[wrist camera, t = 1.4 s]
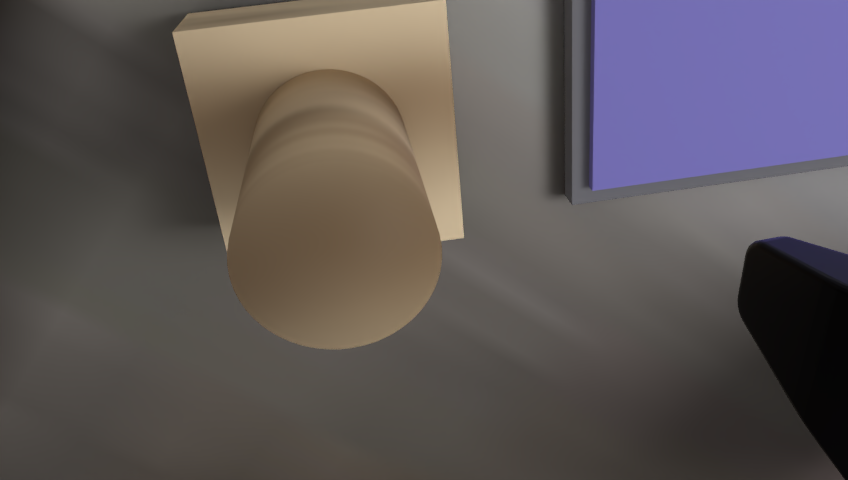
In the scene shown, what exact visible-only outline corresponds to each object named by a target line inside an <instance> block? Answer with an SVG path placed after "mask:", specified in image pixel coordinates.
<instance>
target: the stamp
mask: <svg viewBox="0 0 848 480" xmlns="http://www.w3.org/2000/svg"><path fill="white" fill-rule="evenodd" d="M172 34H173V38H174V42H175V46H176V50H177V54H178V58H179V62H180V66H181V70H182V74H183V78H184V82H185V86H186V90H187V94H188V98H189V102H190V106H191V110H192V114H193V118H194V122H195V126H196V130H197V134H198V138H199V142H200V146H201V150H202V154H203V158H204V162H205V166H206V170H207V174H208V178H209V182H210V186H211V190H212V194H213V198H214V202H215V206H216V210H217V214H218V218H219V222H220V226H221V230H222V234H223V238H224V242H225V246H226V250H227V266H228V272H229V277H230V280H231V283H232V286H233V289H234V291H235V293H236V295H237V297H238V299H239V301H240V302H241V304H242V305H243V306H244V308H245V309H246V311H247V312H248V313H249V314H250V315H251V316H252V317H253V318H254V319H255V320H256V321H257V322H258V323H260V324H261V325H262V326H263V327H264V328H266V329H267V330H269V331H270V332H272V333H274V334H275V335H277V336H279V337H281V338H283V339H285V340H287V341H290V342H293V343H296V344H299V345H303V346H307V347H311V348H319V349H347V348H354V347H359V346H364V345H367V344H370V343H373V342H376V341H379V340H381V339H383V338H385V337H388V336H389V335H391V334H393V333H395V332H396V331H398V330H400V329H401V328H402V327H403V326H405V325H406V324H407V323H409V322H410V321H411V320H412V319H413V318H414V317H415V316H416V315H417V314H418V313H419V312H420V311H421V309H422V308H423V307H424V306H425V304H426V303H427V301H428V300H429V298H430V296H431V295H432V293H433V291H434V288H435V286H436V284H437V281H438V278H439V274H440V270H441V262H442V245H441V241H445V240H452V239H459V238H464V231H463V218H462V205H461V192H460V179H459V166H458V153H457V140H456V127H455V114H454V101H453V88H452V75H451V62H450V49H449V36H448V23H447V10H446V0H298V1H289V2H281V3H273V4H264V5H256V6H247V7H239V8H230V9H222V10H214V11H205V12H197V13H188V14H187V15H186V17H185V18H184V19H183V20H182V21H181V22H180V24H179V25H178V26H177V27H176V28H175V30H174V31H173V32H172Z"/></svg>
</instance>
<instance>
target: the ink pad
mask: <svg viewBox="0 0 848 480" xmlns="http://www.w3.org/2000/svg"><path fill="white" fill-rule="evenodd" d="M564 77H565V196H566V197H567V199H568V200H569V201H570V203H571V204H572V205H575V204H582V203H589V202H596V201H603V200H610V199H617V198H624V197H632V196H639V195H646V194H653V193H660V192H667V191H674V190H681V189H688V188H695V187H702V186H710V185H717V184H724V183H731V182H738V181H745V180H752V179H759V178H766V177H773V176H780V175H788V174H795V173H802V172H809V171H816V170H823V169H830V168H837V167H844V166H848V0H564Z"/></svg>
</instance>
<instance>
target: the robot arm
mask: <svg viewBox="0 0 848 480" xmlns="http://www.w3.org/2000/svg"><path fill="white" fill-rule="evenodd" d="M738 308H739V313H740V315H741V318H742V320H743V322H744V324H745V325H746V327H747V329H748V330H749V332H750V334H751V335H752V337H753V339H754V341H755V342H756V344H757V346H758V347H759V349H760V351H761V352H762V354H763V356H764V358H765V359H766V361H767V363H768V364H769V366H770V368H771V369H772V371H773V373H774V375H775V376H776V378H777V380H778V381H779V383H780V385H781V386H782V388H783V390H784V392H785V393H786V395H787V397H788V398H789V400H790V402H791V403H792V405H793V407H794V408H795V410H796V411H797V413H798V415H799V416H800V418H801V419H802V421H803V422H804V424H805V425H806V427H807V428H808V430H809V431H810V432H811V434H812V435H813V437H814V438H815V440H816V441H817V442H818V444H819V445H820V446H821V448H822V449H823V450H824V452H825V453H826V454H827V456H828V457H829V459H830V460H831V461H832V463H833V464H834V465H835V467H836V468H837V469H838V471H839V472H840V473H841V475H842V476H843V477H844V479H845V480H848V254H844V253H841V252H838V251H834V250H831V249H828V248H824V247H821V246H817V245H814V244H811V243H807V242H804V241H801V240H797V239H794V238H791V237H776V238H770V239H765V240H759V241H755V242H754V243H752V244H751V245H750V246H749V248H748V249H747V252H746V255H745V261H744V266H743V272H742V277H741V283H740V288H739V294H738Z"/></svg>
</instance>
